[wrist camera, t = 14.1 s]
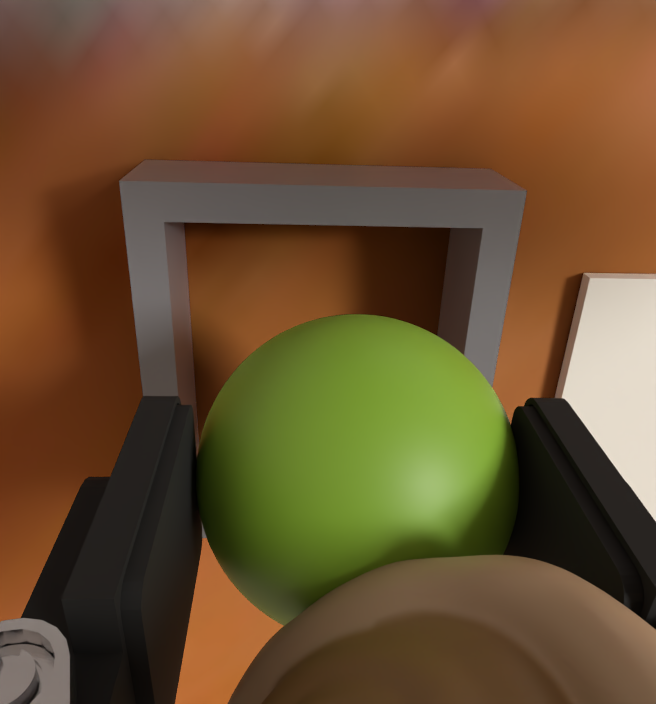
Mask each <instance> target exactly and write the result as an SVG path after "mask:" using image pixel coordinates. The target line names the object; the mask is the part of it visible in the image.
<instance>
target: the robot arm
mask: <svg viewBox="0 0 656 704" xmlns="http://www.w3.org/2000/svg"><path fill="white" fill-rule="evenodd" d="M511 428H512V431H513V435H514V438H515V443H516V449H517V455H518V464H519V502H518V510H517V515H516V520H515V524H514V528H513V531H512V534H511V537H510V540H509V542H508V545H507V547H506V549H505V552H504V554H503V555H510V556H519V557H526V558H531V559H535V560H539V561H543V562H546V563H549V564H552V565H555V566H557V567H560V568H562V569H565V570H567V571H569V572H571V573H573V574H575V575H577V576H578V577H580V578H582V579H584V580H586V581H587V582H589V583H591V584H593V585H594V586H596V587H598V588H599V589H601V590H602V591H604V592H606V593H607V594H609V595H610V596H611V597H613V598H614V599H616V600H617V601H619V602H620V603H622V604H623V605H624V606H626V607H627V608H628V609H630V610H631V611H633V612H634V613H635V614H637V615H638V616H639V617H640V618H642V619H643V620H644V621H645V622H647V623H648V624H649V625H651V626H652V627H653V628H654V629H656V521H655V520H654V519H653V517H652V516H651V514H650V513H649V512H648V510H647V509H646V508H645V506H644V505H643V503H642V502H641V501H640V499H639V498H638V497H637V495H636V494H635V492H634V491H633V490H632V488H631V487H630V486H629V484H628V483H627V482H626V481H625V480H624V479H623V477H622V476H621V474H620V473H619V472H618V470H617V469H616V468H615V466H614V465H613V463H612V462H611V461H610V459H609V458H608V457H607V455H606V454H605V452H604V451H603V450H602V448H601V447H600V446H599V444H598V443H597V441H596V440H595V439H594V437H593V436H592V434H591V433H590V432H589V430H588V429H587V428H586V426H585V425H584V423H583V422H582V421H581V419H580V418H579V417H578V415H577V414H576V412H575V411H574V410H573V408H572V407H571V406H570V404H569V403H568V402H567V401H566V400H565V399H563V398H529V399H528V400H527V401H526V403H525V405H524V406H518V407H517V408H516V409H515V411H514V414H513V418H512V423H511ZM196 466H197V454H196V441H195V428H194V415H193V408H192V405H181V401H180V398H179V396H143V398H142V399H141V402H140V404H139V407H138V409H137V412H136V414H135V417H134V419H133V422H132V424H131V427H130V429H129V432H128V434H127V437H126V439H125V442H124V444H123V447H122V449H121V452H120V454H119V457H118V459H117V462H116V464H115V467H114V469H113V472H112V474H111V477H88V478H87V479H85V480H84V482H83V484H82V485H81V487H80V489H79V492H78V494H77V496H76V498H75V500H74V502H73V505H72V507H71V509H70V511H69V513H68V516H67V518H66V520H65V522H64V524H63V527H62V529H61V531H60V533H59V535H58V538H57V540H56V542H55V544H54V546H53V548H52V551H51V553H50V555H49V557H48V559H47V562H46V564H45V566H44V568H43V570H42V573H41V575H40V577H39V579H38V581H37V584H36V586H35V588H34V590H33V592H32V594H31V597H30V599H29V601H28V603H27V605H26V608H25V610H24V612H23V614H22V616H21V618H20V619H12V620H5V621H1V622H0V704H175V699H176V693H177V687H178V682H179V676H180V670H181V664H182V658H183V653H184V647H185V641H186V635H187V630H188V624H189V618H190V612H191V606H192V601H193V595H194V589H195V583H196V577H197V572H198V566H199V560H200V554H201V548H202V522H201V518H200V513H199V508H198V502H197V494H196Z"/></svg>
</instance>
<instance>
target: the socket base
mask: <svg viewBox="0 0 656 704" xmlns="http://www.w3.org/2000/svg"><path fill="white" fill-rule="evenodd" d="M119 185H120V194H121V203H122V212H123V221H124V230H125V238H126V247H127V256H128V265H129V274H130V283H131V292H132V301H133V310H134V319H135V328H136V337H137V346H138V355H139V364H140V373H141V382H142V391H143V396H179V398H180V401H181V405H192V408H193V415H194V428H195V441H196V454H198V448H199V435H198V420H197V405H196V391H195V376H194V361H193V346H192V331H191V317H190V302H189V287H188V272H187V258H186V243H185V228H184V222H189V223H240V224H290V225H341V226H392V227H443V228H451V229H450V237H449V245H448V253H447V261H446V269H445V277H444V285H443V293H442V301H441V309H440V317H439V325H438V333H437V336H438V337H440V338H441V339H443V340H445V341H446V342H448V343H449V344H450V345H452V346H453V347H454V348H456V349H457V350H458V351H460V352H461V353H462V354H463V355H464V356H465V357H466V358H467V359H468V360H469V361H471V362H472V363H473V365H474V366H475V367H476V368H477V369H478V370H479V371H480V372H481V374H482V375H483V376H484V377H485V379H486V380H487V381H488V383H489V384H490V385H491V387H492V386H493V380H494V374H495V369H496V363H497V357H498V352H499V346H500V340H501V335H502V329H503V323H504V318H505V312H506V306H507V301H508V295H509V290H510V284H511V278H512V273H513V267H514V261H515V256H516V250H517V244H518V239H519V233H520V227H521V222H522V216H523V210H524V205H525V199H526V193H527V190H525V189H523V188H522V187H520V186H518V185H517V184H515V183H513V182H512V181H510V180H509V179H507V178H505V177H504V176H502V175H500V174H499V173H497V172H495V171H494V170H492V169H481V168H444V167H406V166H369V165H331V164H294V163H256V162H219V161H181V160H144V161H143V162H141V163H140V164H139V165H138V166H136V167H135V168H134V169H133V170H132V171H130V172H129V173H128V174H127V175H126V176H124V177H123V178H122V179H121V180H119ZM202 538H207V537H206V534H205V531H204V528H203V525H202Z"/></svg>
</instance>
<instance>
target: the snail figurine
mask: <svg viewBox="0 0 656 704" xmlns="http://www.w3.org/2000/svg"><path fill="white" fill-rule="evenodd" d="M196 494H197V502H198V508H199V513H200V518H201V522H202V525H203V528H204V531H205V534H206V537H207V540H208V542H209V545H210V547H211V549H212V551H213V553H214V555H215V557H216V559H217V561H218V562H219V564H220V566H221V567H222V569H223V571H224V572H225V573H226V575H227V576H228V578H229V579H230V580H231V582H232V583H233V584H234V585H235V587H236V588H237V589H238V590H239V591H240V592H241V593H242V594H243V595H244V596H245V597H246V598H247V599H248V600H249V601H250V602H251V603H252V604H253V605H254V606H256V607H257V608H258V609H259V610H260V611H262V612H263V613H265V614H266V615H267V616H269V617H270V618H272V619H273V620H275V621H277V622H278V623H280V624H282V625H284V627H282V628H281V629H280V630H279V631H278V632H277V633H276V634H275V635H274V636H273V637H272V638H271V639H270V640H269V641H268V642H267V643H266V644H265V646H264V647H263V648H262V649H261V650H260V652H259V653H258V654H257V656H256V657H255V659H254V660H253V661H252V663H251V664H250V666H249V667H248V669H247V671H246V672H245V674H244V675H243V677H242V679H241V680H240V682H239V684H238V685H237V687H236V689H235V691H234V692H233V694H232V696H231V698H230V700H229V702H228V704H656V629H654V628H653V627H652V626H651V625H649V624H648V623H647V622H645V621H644V620H643V619H642V618H640V617H639V616H638V615H637V614H635V613H634V612H633V611H631V610H630V609H628V608H627V607H626V606H624V605H623V604H622V603H620V602H619V601H617V600H616V599H614V598H613V597H611V596H610V595H609V594H607V593H606V592H604V591H602V590H601V589H599V588H598V587H596V586H594V585H593V584H591V583H589V582H587V581H586V580H584V579H582V578H580V577H578V576H577V575H575V574H573V573H571V572H569V571H567V570H565V569H562V568H560V567H557V566H555V565H552V564H549V563H546V562H543V561H539V560H535V559H531V558H526V557H519V556H510V555H503V554H504V552H505V549H506V547H507V545H508V542H509V540H510V537H511V534H512V531H513V528H514V524H515V520H516V515H517V510H518V502H519V464H518V455H517V449H516V443H515V438H514V435H513V431H512V428H511V425H510V422H509V419H508V417H507V415H506V412H505V410H504V408H503V406H502V404H501V402H500V400H499V398H498V396H497V395H496V393H495V391H494V390H493V388H492V387H491V385H490V384H489V383H488V381H487V380H486V379H485V377H484V376H483V375H482V374H481V372H480V371H479V370H478V369H477V368H476V367H475V366H474V365H473V363H472V362H471V361H469V360H468V359H467V358H466V357H465V356H464V355H463V354H462V353H461V352H460V351H458V350H457V349H456V348H454V347H453V346H452V345H450V344H449V343H448V342H446V341H445V340H443V339H441V338H440V337H438V336H436V335H435V334H433V333H431V332H429V331H427V330H425V329H423V328H421V327H418V326H416V325H413V324H410V323H407V322H404V321H401V320H398V319H394V318H389V317H384V316H377V315H367V314H346V315H336V316H329V317H324V318H319V319H316V320H312V321H309V322H306V323H303V324H300V325H298V326H295V327H293V328H291V329H288V330H286V331H284V332H282V333H280V334H279V335H277V336H275V337H273V338H272V339H270V340H269V341H267V342H266V343H264V344H263V345H262V346H260V347H259V348H258V349H256V350H255V351H254V352H253V353H252V354H251V355H249V356H248V357H247V358H246V359H245V360H244V361H243V362H242V363H241V364H240V365H239V366H238V368H237V369H236V370H235V371H234V372H233V373H232V375H231V376H230V377H229V379H228V380H227V381H226V383H225V384H224V386H223V387H222V389H221V390H220V392H219V394H218V395H217V397H216V399H215V401H214V403H213V405H212V407H211V409H210V411H209V414H208V416H207V419H206V421H205V424H204V427H203V431H202V434H201V438H200V442H199V448H198V454H197V466H196Z"/></svg>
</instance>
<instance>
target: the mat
mask: <svg viewBox="0 0 656 704" xmlns="http://www.w3.org/2000/svg"><path fill="white" fill-rule="evenodd" d="M555 398H563V399H565V400H566V401H567V402H568V403H569V404H570V406H571V407H572V408H573V410H574V411H575V412H576V414H577V415H578V417H579V418H580V419H581V421H582V422H583V423H584V425H585V426H586V428H587V429H588V430H589V432H590V433H591V434H592V436H593V437H594V439H595V440H596V441H597V443H598V444H599V446H600V447H601V448H602V450H603V451H604V452H605V454H606V455H607V457H608V458H609V459H610V461H611V462H612V463H613V465H614V466H615V468H616V469H617V470H618V472H619V473H620V474H621V476H622V477H623V479H624V480H625V481H626V482H627V483H628V484H629V486H630V487H631V488H632V490H633V491H634V492H635V494H636V495H637V497H638V498H639V499H640V501H641V502H642V503H643V505H644V506H645V508H646V509H647V510H648V512H649V513H650V514H651V516H652V517H653V519H654V520H655V521H656V274H619V273H583V277H582V281H581V286H580V290H579V294H578V299H577V303H576V307H575V312H574V316H573V320H572V325H571V329H570V333H569V338H568V342H567V346H566V351H565V355H564V359H563V364H562V368H561V372H560V377H559V381H558V385H557V390H556V394H555Z"/></svg>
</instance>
